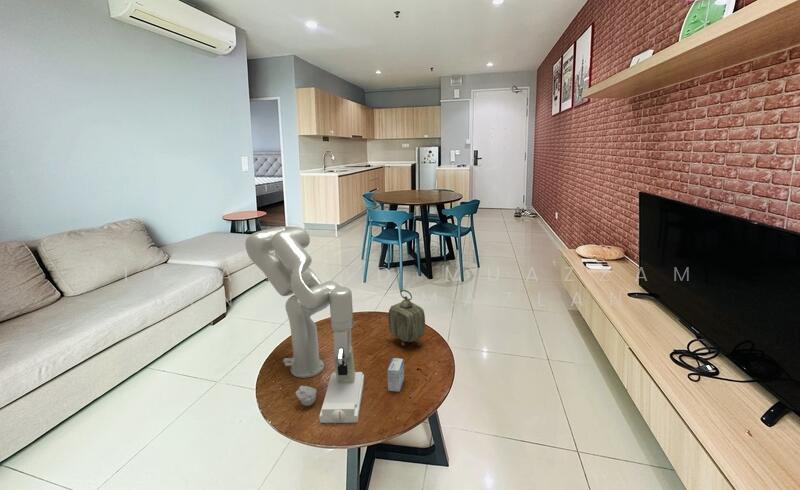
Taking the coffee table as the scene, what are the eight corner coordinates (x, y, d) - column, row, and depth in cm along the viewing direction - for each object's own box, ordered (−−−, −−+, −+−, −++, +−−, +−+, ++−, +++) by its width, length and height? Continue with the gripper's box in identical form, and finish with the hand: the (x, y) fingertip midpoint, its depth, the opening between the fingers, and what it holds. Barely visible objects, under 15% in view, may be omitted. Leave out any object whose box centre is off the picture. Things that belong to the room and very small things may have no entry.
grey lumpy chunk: (295, 401, 131) (293, 384, 129) (316, 396, 134) (314, 378, 132) (298, 412, 126) (296, 394, 124) (319, 406, 129) (318, 388, 127)
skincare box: (355, 375, 139) (353, 345, 136) (353, 383, 135) (352, 352, 132) (337, 376, 139) (335, 346, 136) (335, 383, 135) (333, 352, 132)
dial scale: (319, 423, 121) (318, 410, 119) (331, 380, 142) (331, 368, 141) (357, 423, 121) (356, 409, 119) (364, 380, 142) (363, 368, 141)
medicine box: (400, 392, 135) (399, 371, 133) (387, 391, 136) (387, 369, 134) (404, 379, 143) (404, 358, 140) (392, 377, 144) (392, 357, 141)
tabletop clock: (425, 346, 165) (425, 292, 158) (410, 354, 159) (409, 298, 153) (402, 334, 175) (401, 283, 169) (387, 341, 170) (386, 288, 163)
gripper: (335, 311, 139) (338, 353, 144) (326, 335, 123) (330, 381, 127) (356, 311, 139) (358, 353, 144) (349, 335, 123) (352, 381, 127)
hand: (344, 366), depth 136 cm, fingers open, 9 cm apart
